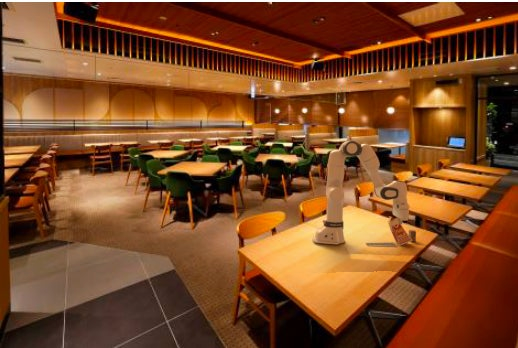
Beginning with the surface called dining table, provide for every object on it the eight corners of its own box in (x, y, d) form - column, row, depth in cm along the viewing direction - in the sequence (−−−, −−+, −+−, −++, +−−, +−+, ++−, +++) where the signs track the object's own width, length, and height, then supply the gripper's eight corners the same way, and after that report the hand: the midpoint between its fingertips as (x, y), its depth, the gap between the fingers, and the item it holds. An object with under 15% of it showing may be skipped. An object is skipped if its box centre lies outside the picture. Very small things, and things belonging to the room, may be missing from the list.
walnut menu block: (410, 242, 198) (410, 231, 198) (408, 241, 202) (408, 230, 201) (415, 242, 198) (416, 231, 197) (413, 241, 201) (414, 230, 201)
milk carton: (412, 240, 189) (398, 213, 190) (399, 246, 191) (385, 219, 192) (408, 236, 198) (394, 211, 199) (395, 242, 200) (381, 217, 201)
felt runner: (367, 246, 192) (367, 245, 192) (364, 242, 201) (364, 241, 201) (397, 246, 189) (397, 246, 189) (392, 242, 198) (392, 242, 198)
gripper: (390, 201, 204) (390, 220, 205) (400, 206, 184) (400, 227, 185) (399, 201, 204) (399, 220, 204) (410, 206, 183) (410, 227, 184)
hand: (400, 224), depth 195 cm, fingers closed, pressing on milk carton
